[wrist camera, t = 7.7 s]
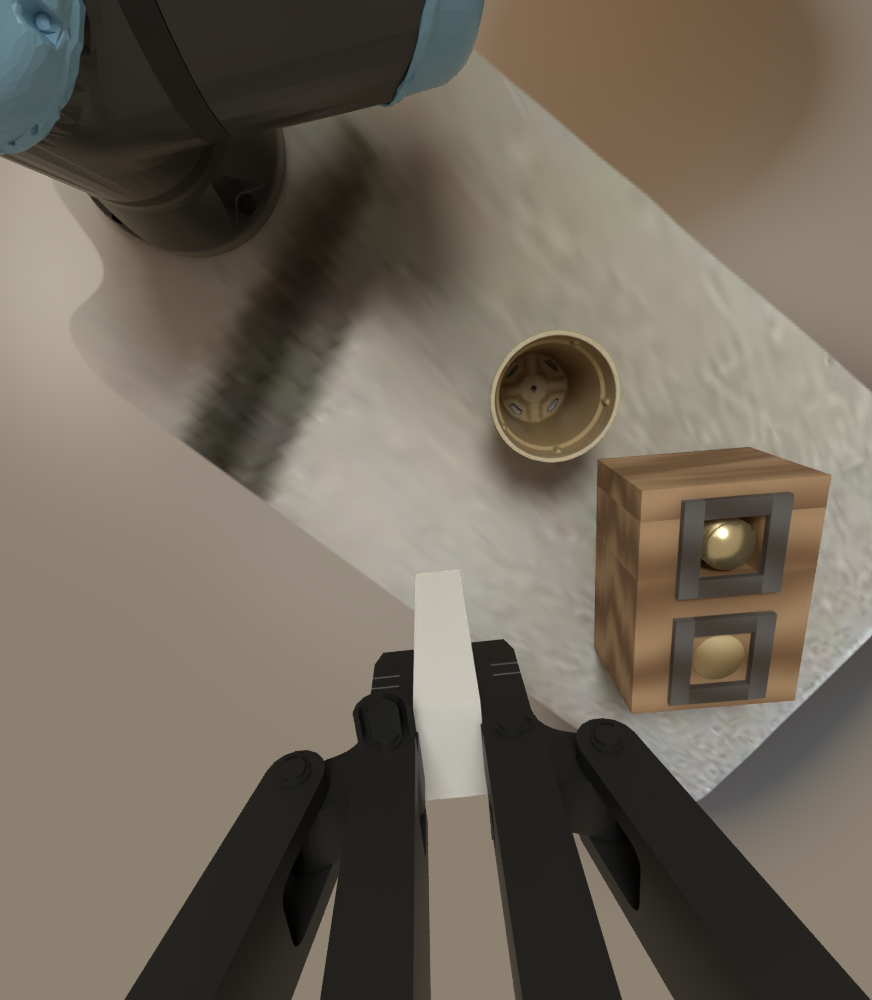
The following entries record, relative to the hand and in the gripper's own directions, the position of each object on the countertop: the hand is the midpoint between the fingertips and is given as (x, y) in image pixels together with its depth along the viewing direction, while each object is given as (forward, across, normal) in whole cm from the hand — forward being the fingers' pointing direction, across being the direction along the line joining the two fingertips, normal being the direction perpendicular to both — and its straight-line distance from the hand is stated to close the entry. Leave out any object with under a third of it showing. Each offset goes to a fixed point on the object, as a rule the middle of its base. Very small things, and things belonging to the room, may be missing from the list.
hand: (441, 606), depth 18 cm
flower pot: (+30, +9, +3) cm, 32 cm away
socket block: (+30, +22, -14) cm, 40 cm away
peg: (+28, +22, -9) cm, 37 cm away
